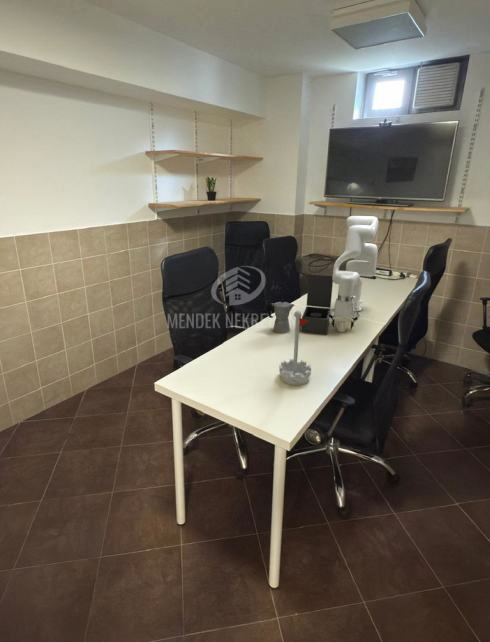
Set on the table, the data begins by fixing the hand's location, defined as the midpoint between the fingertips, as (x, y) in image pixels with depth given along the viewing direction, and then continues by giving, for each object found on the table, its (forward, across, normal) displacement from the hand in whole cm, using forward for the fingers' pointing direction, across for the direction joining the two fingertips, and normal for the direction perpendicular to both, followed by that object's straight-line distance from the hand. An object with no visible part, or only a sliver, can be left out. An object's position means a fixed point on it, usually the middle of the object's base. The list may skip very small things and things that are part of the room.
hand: (342, 327), depth 197 cm
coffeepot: (+1, +33, +11) cm, 35 cm away
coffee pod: (+2, 0, +1) cm, 2 cm away
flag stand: (0, +17, +58) cm, 61 cm away
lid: (-17, +14, -10) cm, 24 cm away
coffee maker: (+2, +14, +1) cm, 14 cm away
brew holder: (+1, +14, +4) cm, 15 cm away
